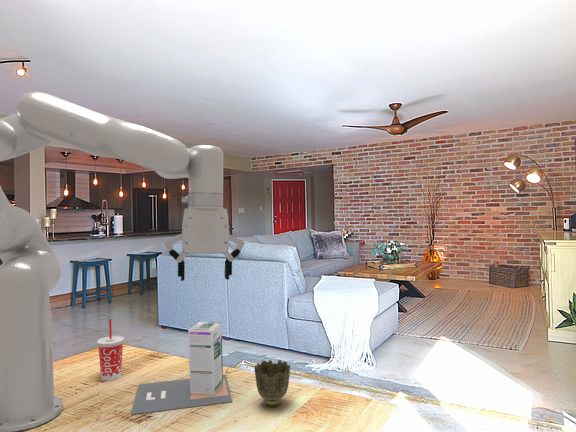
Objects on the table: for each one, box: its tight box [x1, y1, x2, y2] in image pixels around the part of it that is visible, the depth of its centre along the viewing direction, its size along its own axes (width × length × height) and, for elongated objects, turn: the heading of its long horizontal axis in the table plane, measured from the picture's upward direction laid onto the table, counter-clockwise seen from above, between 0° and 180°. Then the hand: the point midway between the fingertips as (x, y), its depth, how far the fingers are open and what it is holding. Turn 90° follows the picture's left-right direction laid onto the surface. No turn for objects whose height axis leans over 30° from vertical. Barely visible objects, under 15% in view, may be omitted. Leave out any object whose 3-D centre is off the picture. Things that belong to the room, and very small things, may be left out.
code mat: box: [130, 374, 233, 416], centre depth 90 cm, size 20×14×1 cm
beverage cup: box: [96, 318, 125, 381], centre depth 99 cm, size 6×6×14 cm
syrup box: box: [187, 321, 224, 396], centre depth 91 cm, size 6×6×14 cm
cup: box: [253, 359, 291, 408], centre depth 85 cm, size 8×7×8 cm
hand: (205, 279), depth 91 cm, fingers open, 9 cm apart
